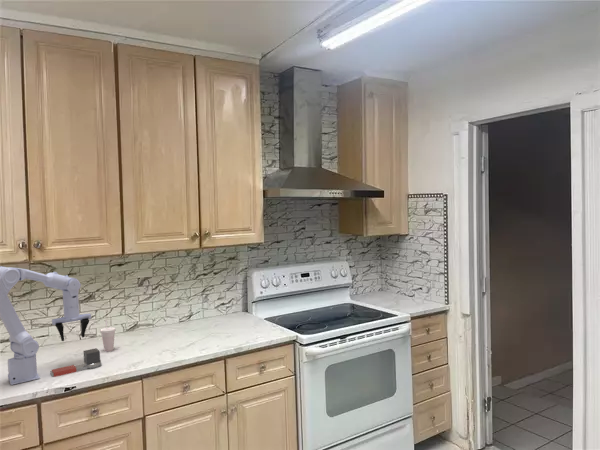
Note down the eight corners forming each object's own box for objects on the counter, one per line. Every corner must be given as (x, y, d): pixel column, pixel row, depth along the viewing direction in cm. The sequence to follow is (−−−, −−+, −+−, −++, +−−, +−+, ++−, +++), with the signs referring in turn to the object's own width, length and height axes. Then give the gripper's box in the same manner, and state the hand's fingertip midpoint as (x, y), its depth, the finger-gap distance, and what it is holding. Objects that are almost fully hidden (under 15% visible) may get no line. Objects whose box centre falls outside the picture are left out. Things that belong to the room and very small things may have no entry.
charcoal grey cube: (87, 364, 185) (86, 353, 185) (84, 361, 189) (83, 350, 189) (100, 362, 188) (99, 351, 188) (96, 358, 192) (96, 348, 192)
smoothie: (99, 350, 209) (97, 319, 208) (113, 346, 213) (111, 316, 212) (104, 353, 204) (103, 322, 203) (119, 349, 208) (117, 319, 208)
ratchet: (52, 378, 177) (52, 367, 176) (49, 373, 182) (49, 362, 182) (102, 366, 188) (102, 356, 188) (98, 362, 193) (98, 352, 193)
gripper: (53, 311, 183) (55, 344, 184) (92, 305, 192) (94, 337, 193) (50, 307, 189) (52, 340, 190) (88, 302, 198) (89, 333, 199)
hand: (72, 338), depth 192 cm, fingers open, 7 cm apart
